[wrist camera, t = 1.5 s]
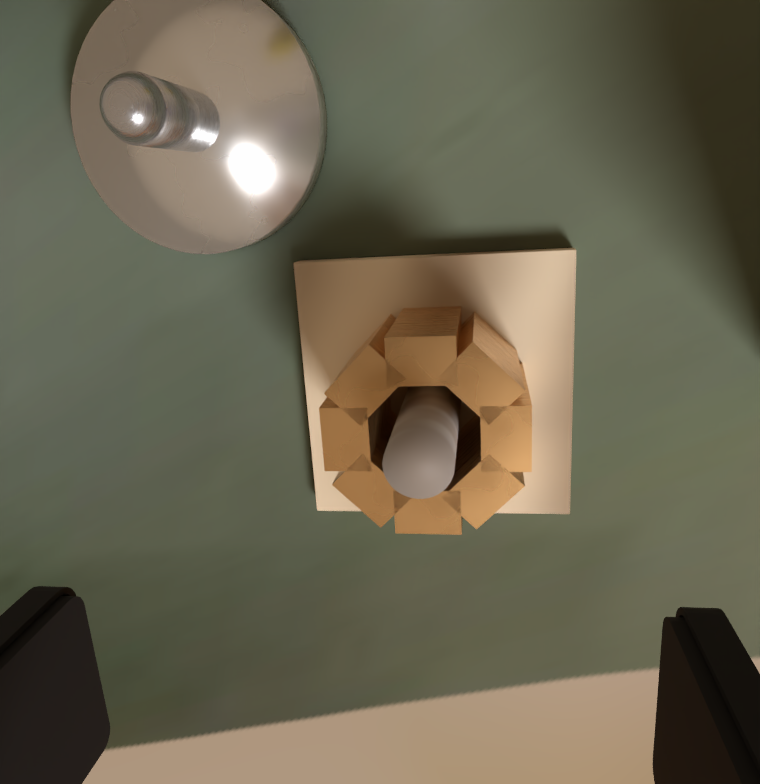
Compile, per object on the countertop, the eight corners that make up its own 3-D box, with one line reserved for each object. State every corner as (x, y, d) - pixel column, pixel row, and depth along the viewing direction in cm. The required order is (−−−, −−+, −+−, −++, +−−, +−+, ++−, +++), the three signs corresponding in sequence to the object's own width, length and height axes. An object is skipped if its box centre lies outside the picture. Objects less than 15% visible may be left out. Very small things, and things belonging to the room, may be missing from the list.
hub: (315, -31, 22) (256, -109, 16) (337, 245, 25) (292, 263, 19) (68, -2, 24) (-68, -64, 18) (112, 256, 26) (6, 276, 20)
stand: (573, 247, 23) (614, 275, 16) (567, 504, 26) (600, 628, 19) (299, 260, 25) (222, 291, 18) (321, 501, 28) (264, 615, 21)
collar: (522, 303, 24) (532, 333, 19) (522, 470, 25) (531, 535, 21) (345, 309, 25) (312, 339, 20) (357, 470, 26) (329, 532, 22)
